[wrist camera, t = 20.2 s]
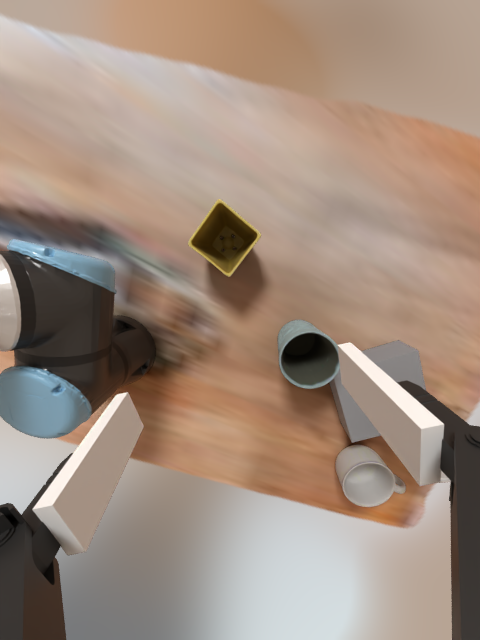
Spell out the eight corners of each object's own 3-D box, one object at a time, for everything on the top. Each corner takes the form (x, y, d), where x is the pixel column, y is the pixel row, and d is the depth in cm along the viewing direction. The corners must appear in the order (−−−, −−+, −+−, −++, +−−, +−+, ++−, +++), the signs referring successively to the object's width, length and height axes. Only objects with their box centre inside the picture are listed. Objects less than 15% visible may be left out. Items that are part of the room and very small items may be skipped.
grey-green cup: (318, 361, 52) (338, 389, 40) (272, 360, 52) (278, 388, 41) (322, 315, 50) (344, 331, 38) (273, 315, 50) (280, 331, 38)
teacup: (322, 465, 58) (334, 496, 50) (344, 430, 56) (359, 457, 48) (374, 485, 59) (393, 519, 51) (397, 451, 56) (421, 481, 48)
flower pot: (260, 239, 47) (262, 234, 38) (232, 275, 48) (229, 278, 40) (224, 209, 46) (218, 197, 37) (198, 247, 47) (186, 243, 39)
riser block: (341, 423, 55) (352, 442, 49) (323, 362, 52) (332, 375, 46) (412, 404, 53) (432, 422, 47) (398, 340, 50) (418, 350, 44)
